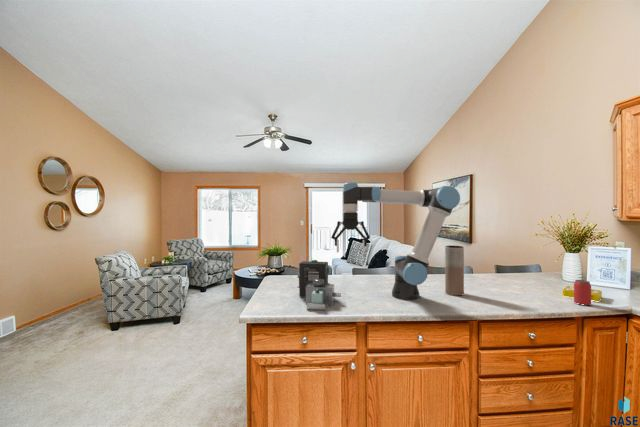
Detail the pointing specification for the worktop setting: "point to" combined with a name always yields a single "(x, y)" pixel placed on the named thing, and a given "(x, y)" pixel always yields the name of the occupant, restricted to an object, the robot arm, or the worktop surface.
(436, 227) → the robot arm
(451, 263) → the vase
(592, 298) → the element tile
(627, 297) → the worktop surface
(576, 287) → the beer can
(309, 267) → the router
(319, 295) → the block
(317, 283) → the motor
